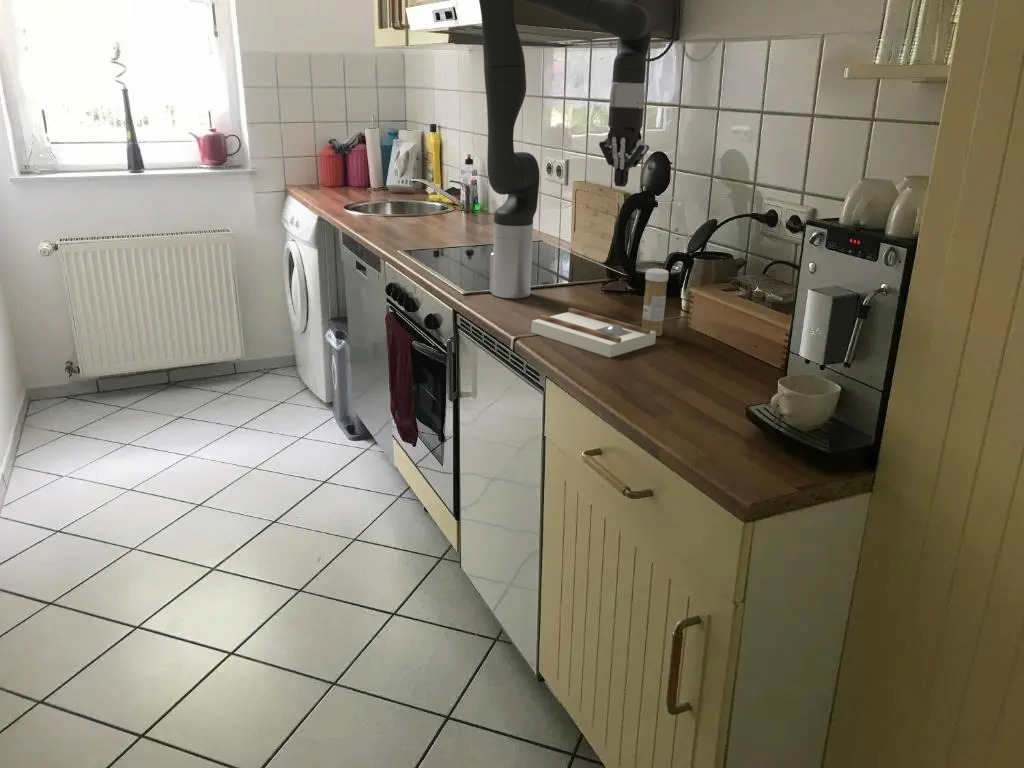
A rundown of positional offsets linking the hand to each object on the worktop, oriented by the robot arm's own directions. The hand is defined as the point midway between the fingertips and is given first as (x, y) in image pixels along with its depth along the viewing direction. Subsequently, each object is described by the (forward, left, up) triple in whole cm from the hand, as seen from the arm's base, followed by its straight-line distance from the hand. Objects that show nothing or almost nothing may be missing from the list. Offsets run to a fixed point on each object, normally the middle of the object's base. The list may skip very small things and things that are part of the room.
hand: (620, 186), depth 183 cm
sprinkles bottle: (+22, -14, -27) cm, 38 cm away
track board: (+16, -26, -27) cm, 41 cm away
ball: (+22, -26, -25) cm, 42 cm away
